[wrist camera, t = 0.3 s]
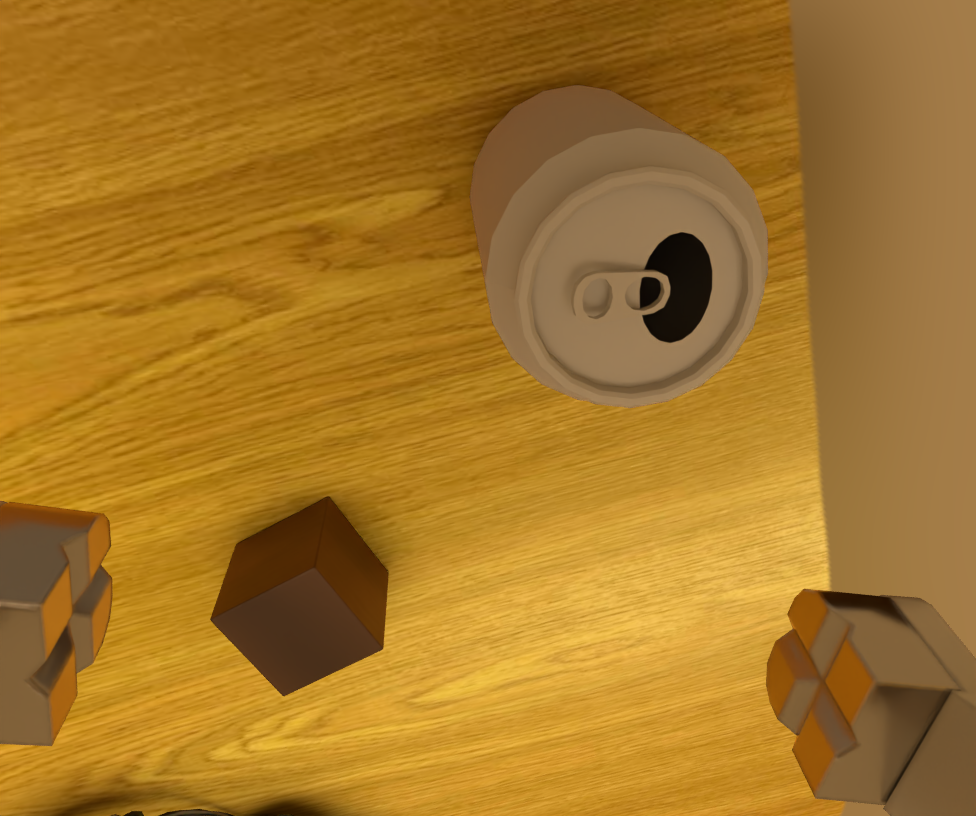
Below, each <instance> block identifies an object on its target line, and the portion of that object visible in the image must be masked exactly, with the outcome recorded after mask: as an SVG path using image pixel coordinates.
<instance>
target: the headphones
mask: <svg viewBox="0 0 976 816" xmlns="http://www.w3.org/2000/svg"><path fill="white" fill-rule="evenodd" d="M111 816H119V815H117V814H114V815H111ZM124 816H144V815H143V813H142V811H132V812H130V813H128V814H126V815H124ZM159 816H233V815H231V814H228V813H223V812H215V811H208V810H202V809H193V810H179V811H172V812H167V813H164V814H162V815H159ZM278 816H293V815H288V814H280V815H278Z"/></svg>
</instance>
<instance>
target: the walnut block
mask: <svg viewBox="0 0 976 816" xmlns="http://www.w3.org/2000/svg"><path fill="white" fill-rule="evenodd" d="M387 588H388V572H387V570H386V569H385V568H384V567H383V565H382V564H381V563H380V561H379V560H378V559H377V558H376V556H375V555H374V554H373V553H372V551H371V550H370V549H369V547H368V546H367V545H366V544H365V542H364V541H363V540H362V539H361V537H360V536H359V535H358V533H357V532H356V531H355V530H354V528H353V527H352V526H351V525H350V523H349V522H348V521H347V519H346V518H345V517H344V516H343V514H342V513H341V512H340V511H339V509H338V508H337V507H336V505H335V504H334V503H333V502H332V500H331V499H330V498H329V497H327V498H325V499H323V500H321V501H319V502H317V503H315V504H313V505H311V506H309V507H308V508H306V509H304V510H302V511H300V512H298V513H296V514H294V515H292V516H290V517H288V518H286V519H284V520H282V521H280V522H279V523H277V524H275V525H273V526H271V527H269V528H267V529H265V530H263V531H261V532H259V533H257V534H255V535H253V536H252V537H250V538H248V539H246V540H244V541H242V542H240V543H238V544H236V546H235V549H234V552H233V555H232V558H231V561H230V564H229V567H228V569H227V572H226V575H225V578H224V581H223V584H222V587H221V590H220V593H219V596H218V598H217V601H216V604H215V607H214V610H213V613H212V616H211V619H210V620H211V621H212V622H213V624H214V625H215V626H216V627H217V628H218V629H219V630H220V631H221V632H222V633H223V634H224V635H225V636H226V637H227V638H228V639H229V640H230V641H231V642H232V643H233V644H234V645H235V646H236V648H237V649H238V650H239V651H240V652H241V653H242V654H243V655H244V656H245V657H246V658H247V659H248V660H249V661H250V662H251V663H252V664H253V665H254V666H255V667H256V668H257V669H258V670H259V672H260V673H261V674H262V675H263V676H264V677H265V678H266V679H267V680H268V681H269V682H270V683H271V684H272V685H273V686H274V687H275V688H276V689H277V690H278V691H279V692H280V693H281V694H282V696H286V695H288V694H290V693H292V692H294V691H296V690H298V689H300V688H302V687H305V686H307V685H309V684H311V683H313V682H315V681H317V680H319V679H321V678H324V677H326V676H328V675H330V674H332V673H334V672H336V671H338V670H340V669H343V668H345V667H347V666H349V665H351V664H353V663H355V662H357V661H359V660H362V659H364V658H366V657H368V656H370V655H372V654H374V653H376V652H378V651H381V650H382V649H383V645H384V631H385V617H386V602H387Z"/></svg>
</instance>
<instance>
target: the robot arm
mask: <svg viewBox="0 0 976 816" xmlns="http://www.w3.org/2000/svg"><path fill="white" fill-rule="evenodd" d="M110 547H111V537H110V523H109V520H108V518H107V517H106V516H105V515H104V514H102V513H94V512H86V511H78V510H70V509H63V508H55V507H47V506H39V505H31V504H23V503H15V502H9V503H7V502H4V501H0V744H16V745H40V746H52V745H53V743H54V741H55V739H56V737H57V735H58V733H59V731H60V729H61V727H62V725H63V723H64V721H65V719H66V717H67V715H68V713H69V711H70V709H71V707H72V705H73V703H74V701H75V699H76V697H77V673H78V672H80V671H81V670H83V669H85V668H86V667H88V666H89V665H91V664H93V663H94V661H95V658H96V656H97V654H98V652H99V650H100V648H101V646H102V643H103V640H104V637H105V633H106V630H107V626H108V623H109V619H110V614H111V605H112V577H111V576H110V575H109V574H108V573H107V572H106V570H105V569H104V568H103V567H102V566H101V563H102V561H103V559H104V558H105V556H106V554H107V552H108V550H109V549H110ZM788 617H789V620H790V622H791V625H792V628H793V629H792V630H791V631H789V632H788V633H787V634H785V635H784V636H782V637H781V638H780V639H778V640H777V641H776V642H775V644H774V646H773V649H772V651H771V654H770V657H769V659H768V662H767V677H766V687H767V691H768V696H769V701H770V704H771V706H772V708H773V710H774V713H775V715H776V717H777V719H778V720H779V721H780V722H781V723H783V724H784V725H785V726H786V727H787V728H789V729H790V730H791V731H792V732H793V733H794V734H796V735H797V737H796V740H795V743H794V746H793V749H792V751H793V753H794V755H795V757H796V759H797V761H798V763H799V765H800V767H801V770H802V772H803V774H804V776H805V778H806V780H807V782H808V784H809V786H810V788H811V790H812V792H813V794H814V796H815V798H817V799H827V800H837V801H848V802H858V803H869V804H878V805H885V806H884V808H883V809H884V810H885V811H887V813H888V814H889V815H890V816H976V658H975V657H974V656H973V655H972V653H971V652H970V651H969V650H968V649H967V648H966V646H965V645H964V644H963V642H962V641H961V640H960V639H959V638H958V637H957V635H956V634H955V633H954V632H953V630H952V629H951V628H950V627H949V625H948V624H947V623H946V622H945V620H944V619H943V618H942V617H941V616H940V614H939V613H938V612H937V611H936V609H935V608H934V607H933V606H932V605H931V604H929V603H927V602H926V601H924V600H922V599H920V598H914V597H901V596H888V595H887V596H886V595H880V596H872V595H861V594H852V593H842V592H832V591H822V590H812V589H803V590H802V591H801V592H800V593H799V594H798V595H797V596H796V597H795V598H794V601H793V603H792V605H791V607H790V609H789V612H788Z"/></svg>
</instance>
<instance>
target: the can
mask: <svg viewBox="0 0 976 816" xmlns="http://www.w3.org/2000/svg"><path fill="white" fill-rule="evenodd" d="M470 202H471V208H472V213H473V219H474V225H475V230H476V236H477V241H478V247H479V252H480V258H481V263H482V269H483V274H484V280H485V285H486V291H487V296H488V301H489V307H490V312H491V318H492V323H493V325H494V326H495V328H496V330H497V332H498V333H499V335H500V337H501V339H502V341H503V342H504V344H505V346H506V348H507V350H508V351H509V353H510V355H511V357H512V358H513V359H514V360H515V361H516V362H517V363H518V364H520V365H521V366H522V367H523V368H524V369H525V370H526V371H527V372H529V373H530V374H531V375H532V376H533V377H534V378H535V379H536V380H538V381H539V382H540V383H541V384H542V385H545V386H547V387H549V388H552V389H554V390H556V391H559V392H561V393H563V394H566V395H568V396H570V397H572V398H575V399H577V400H583V401H589V402H591V403H594V404H599V405H608V406H618V407H627V408H633V407H639V406H645V405H650V404H656V403H662V402H667V401H670V400H672V399H674V398H676V397H678V396H680V395H682V394H684V393H686V392H689V391H691V390H693V389H695V388H697V387H699V386H701V385H703V384H704V383H705V382H706V381H707V380H709V379H710V378H711V377H712V376H713V375H714V374H716V373H717V372H718V371H719V370H720V369H721V368H723V367H724V366H725V365H726V364H727V363H729V362H730V361H731V360H732V358H733V357H734V355H735V354H736V352H737V351H738V349H739V348H740V346H741V345H742V343H743V342H744V341H745V339H746V338H747V336H748V335H749V333H750V332H751V330H752V329H753V326H754V323H755V320H756V316H757V313H758V310H759V307H760V304H761V301H762V297H763V294H764V284H765V281H766V278H767V274H768V230H767V227H766V225H765V222H764V219H763V216H762V213H761V211H760V208H759V205H758V202H757V200H756V197H755V194H754V191H753V189H752V188H751V187H750V186H749V185H748V183H747V182H746V181H745V180H744V179H743V177H742V176H741V175H740V174H739V173H738V172H737V170H736V169H735V168H734V167H733V166H732V164H731V163H730V162H729V161H728V160H727V159H726V157H725V156H723V155H721V154H720V153H718V152H716V151H714V150H713V149H711V148H709V147H708V146H706V145H704V144H703V143H701V142H699V141H698V140H696V139H694V138H692V137H691V136H689V135H687V134H686V133H684V132H682V131H681V130H679V129H677V128H675V127H674V126H672V125H670V124H669V123H667V122H665V121H664V120H662V119H660V118H659V117H657V116H655V115H653V114H652V113H650V112H648V111H647V110H645V109H643V108H642V107H640V106H638V105H636V104H635V103H633V102H631V101H629V100H627V99H625V98H624V97H622V96H620V95H618V94H616V93H615V92H613V91H611V90H606V89H600V88H594V87H587V86H581V85H574V86H568V87H563V88H558V89H552V90H547V91H543V92H541V93H539V94H537V95H535V96H534V97H532V98H530V99H528V100H526V101H525V102H523V103H521V104H519V105H517V106H516V107H514V108H512V109H511V111H510V112H509V113H508V114H507V115H506V116H505V117H504V118H503V119H502V120H501V121H500V122H499V123H498V124H497V125H496V127H495V128H494V129H493V130H492V131H491V132H490V133H489V135H488V137H487V139H486V141H485V143H484V145H483V147H482V149H481V151H480V153H479V156H478V158H477V160H476V162H475V164H474V170H473V177H472V184H471V191H470Z"/></svg>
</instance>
